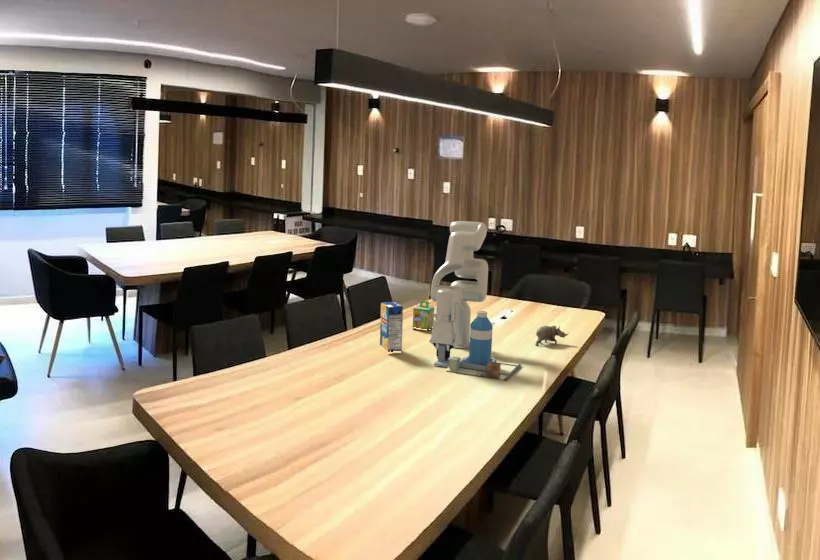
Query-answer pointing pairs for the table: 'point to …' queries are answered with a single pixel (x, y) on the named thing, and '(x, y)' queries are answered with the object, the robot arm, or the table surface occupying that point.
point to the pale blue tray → (463, 362)
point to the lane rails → (492, 377)
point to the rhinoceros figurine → (548, 334)
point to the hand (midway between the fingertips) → (443, 358)
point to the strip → (458, 366)
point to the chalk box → (423, 316)
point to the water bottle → (480, 340)
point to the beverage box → (391, 326)
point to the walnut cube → (493, 369)
